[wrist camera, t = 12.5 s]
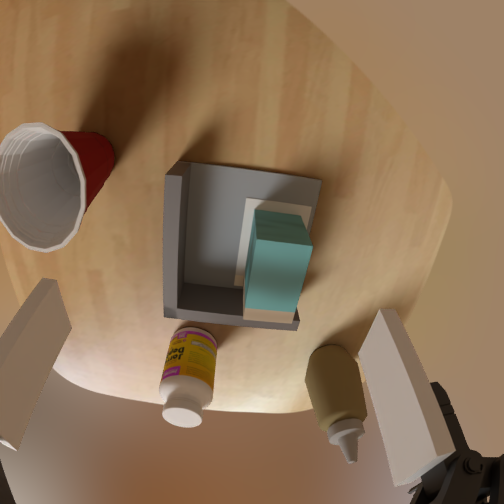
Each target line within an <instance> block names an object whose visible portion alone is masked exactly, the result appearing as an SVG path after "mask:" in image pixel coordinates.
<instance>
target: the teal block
mask: <svg viewBox="0 0 504 504" xmlns="http://www.w3.org/2000/svg"><path fill="white" fill-rule="evenodd" d="M312 249H313V245H312V242H311V240H310V237H309V235H308V232H307V230H306V227H305V225H304V222H303V220H302V217H301V216H300V215H293V214H286V213H278V212H271V211H263V210H256V209H254V215H253V221H252V228H251V234H250V240H249V247H248V253H247V259H246V266H245V272H244V279H243V319H244V320H254V321H265V322H277V323H290V324H292V321H293V318H294V314H295V311H296V307H297V304H298V300H299V297H300V293H301V290H302V286H303V282H304V279H305V275H306V272H307V268H308V264H309V260H310V257H311V253H312Z"/></svg>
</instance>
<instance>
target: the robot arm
mask: <svg viewBox="0 0 504 504" xmlns="http://www.w3.org/2000/svg"><path fill="white" fill-rule="evenodd" d="M71 329H72V327H71V324H70V321H69V318H68V315H67V312H66V309H65V306H64V303H63V300H62V296H61V293H60V290H59V286H58V283H57V280H54V279H48V278H42V279H41V281H40V282H39V283H38V284H37V286H36V287H35V288H34V290H33V291H32V293H31V294H30V295H29V297H28V298H27V299H26V301H25V302H24V304H23V305H22V306H21V308H20V309H19V311H18V312H17V314H16V315H15V317H14V318H13V320H12V321H11V323H10V324H9V325H8V327H7V329H6V330H5V332H4V333H3V335H2V336H1V338H0V442H1V443H2V444H3V445H6V446H8V447H10V448H12V449H14V450H16V451H18V449H19V447H20V444H21V441H22V438H23V435H24V433H25V430H26V428H27V425H28V422H29V420H30V417H31V414H32V412H33V410H34V407H35V405H36V402H37V400H38V398H39V396H40V393H41V391H42V389H43V387H44V384H45V382H46V380H47V378H48V375H49V373H50V371H51V369H52V367H53V365H54V363H55V361H56V359H57V357H58V354H59V352H60V350H61V348H62V346H63V344H64V342H65V340H66V339H67V337H68V335H69V333H70V331H71ZM358 355H359V358H360V362H361V365H362V368H363V371H364V375H365V378H366V381H367V385H368V388H369V391H370V395H371V398H372V402H373V405H374V408H375V412H376V416H377V419H378V423H379V427H380V431H381V434H382V438H383V442H384V445H385V450H386V453H387V458H388V462H389V466H390V470H391V474H392V479H393V483H394V487H396V486H400V485H403V484H407V483H411V482H413V481H415V480H416V479H418V478H419V477H421V479H422V482H421V483H419V484H418V485H416V486H415V487H413V488H411V489H410V491H409V492H408V493H409V494H411V493H412V492H414V491H416V492H415V494H414V495H413V498H412V500H411V502H410V504H504V454H503V455H501V456H500V457H482V456H481V454H480V453H478V452H477V451H474V450H470V449H469V447H468V445H467V443H466V440H465V437H464V434H463V432H462V429H461V427H460V424H459V422H458V419H457V417H456V414H454V409H453V407H452V405H450V400H449V398H448V395H447V393H446V391H445V390H444V389H443V388H442V386H440V384H439V383H438V382H433V383H429V380H428V378H427V376H426V373H425V371H424V369H423V367H422V364H421V362H420V360H419V358H418V355H417V354H416V351H415V349H414V347H413V345H412V343H411V341H410V338H409V336H408V334H407V332H406V330H405V328H404V326H403V324H402V322H401V320H400V318H399V316H398V314H397V312H396V310H395V309H379V311H378V313H377V315H376V317H375V319H374V322H373V324H372V326H371V328H370V330H369V332H368V334H367V336H366V338H365V340H364V343H363V345H362V347H361V349H360V351H359V353H358ZM488 496H490V500H489V502H487V497H488ZM0 504H16V503H15V500H14V498H13V495H12V493H11V490H10V487H9V485H8V482H7V479H6V476H5V473H4V470H3V467H2V464H1V461H0Z"/></svg>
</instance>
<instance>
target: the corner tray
mask: <svg viewBox="0 0 504 504" xmlns="http://www.w3.org/2000/svg"><path fill="white" fill-rule="evenodd" d="M321 184H322V180H319V179H313V178H307V177H301V176H295V175H289V174H282V173H275V172H269V171H261V170H254V169H247V168H239V167H231V166H222V165H213V164H204V163H194V162H183V161H177V162H176V163H175V164H174V166H173V167H172V168H171V169H170V170H169V171H168V172H167V173H166V174H165V190H164V216H163V304H164V317H167V318H174V319H182V320H190V321H198V322H206V323H215V324H224V325H233V326H243V327H254V328H265V329H278V330H291V331H297V329H298V325H299V322H300V319H299V315H298V310H297V307H296V311H295V314H294V318H293V321H292V324H290V323H277V322H265V321H254V320H244V319H243V279H244V272H245V266H246V259H247V253H248V247H249V240H250V234H251V228H252V221H253V215H254V209H256V210H263V211H271V212H278V213H286V214H293V215H300V216H301V217H302V220H303V222H304V225H305V227H306V230H307V232H308V235H310V231H311V227H312V223H313V219H314V214H315V210H316V206H317V201H318V197H319V193H320V188H321Z"/></svg>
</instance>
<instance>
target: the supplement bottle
mask: <svg viewBox="0 0 504 504" xmlns="http://www.w3.org/2000/svg"><path fill="white" fill-rule="evenodd" d="M216 355H217V343H216V341H215V339H214V337H213V336H212V335H211V334H209V333H208V332H206V331H204V330H202V329H199V328H194V327H187V328H182V329H180V330H178V331H177V332H175V333H174V334H173V336H172V338H171V341H170V345H169V349H168V353H167V357H166V361H165V365H164V370H163V374H162V378H161V382H160V387H159V393H160V396H161V398H162V400H163V401H164V402H165V404H164V406H163V412H162V414H163V417H164V419H165V420H166V421H168V422H169V423H171V424H173V425H176V426H180V427H195V426H198V425H199V424H201V422H202V418H203V411H202V410H203V409H205V408H206V407H208V406H209V405H210V403H211V402H212V398H213V388H214V376H215V366H216Z"/></svg>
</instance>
